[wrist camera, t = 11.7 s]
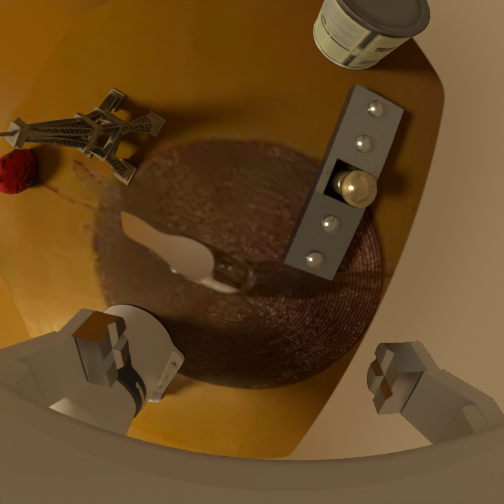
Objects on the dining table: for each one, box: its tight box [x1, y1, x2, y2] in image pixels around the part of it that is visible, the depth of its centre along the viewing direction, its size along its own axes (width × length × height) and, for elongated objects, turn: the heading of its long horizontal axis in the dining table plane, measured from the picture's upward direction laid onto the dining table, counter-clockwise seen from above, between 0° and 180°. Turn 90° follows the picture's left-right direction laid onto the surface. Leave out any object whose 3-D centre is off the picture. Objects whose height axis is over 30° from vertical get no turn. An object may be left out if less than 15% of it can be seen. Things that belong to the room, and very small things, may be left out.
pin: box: [330, 170, 377, 208], centre depth 33 cm, size 4×4×8 cm
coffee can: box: [313, 0, 430, 70], centre depth 23 cm, size 10×10×14 cm
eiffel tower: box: [0, 88, 167, 185], centre depth 24 cm, size 11×11×25 cm
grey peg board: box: [282, 84, 404, 281], centre depth 35 cm, size 25×7×4 cm, turn 160°
